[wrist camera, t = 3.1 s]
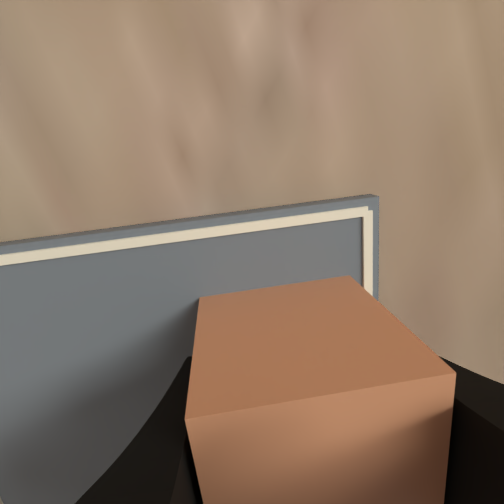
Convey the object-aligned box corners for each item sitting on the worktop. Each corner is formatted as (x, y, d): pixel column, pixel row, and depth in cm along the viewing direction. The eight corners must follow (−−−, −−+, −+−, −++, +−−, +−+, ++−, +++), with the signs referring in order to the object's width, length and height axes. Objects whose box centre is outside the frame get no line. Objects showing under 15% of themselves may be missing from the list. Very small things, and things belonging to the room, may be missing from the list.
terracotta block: (349, 275, 11) (456, 372, 6) (352, 396, 12) (438, 552, 7) (199, 297, 10) (184, 419, 6) (221, 419, 12) (224, 598, 7)
